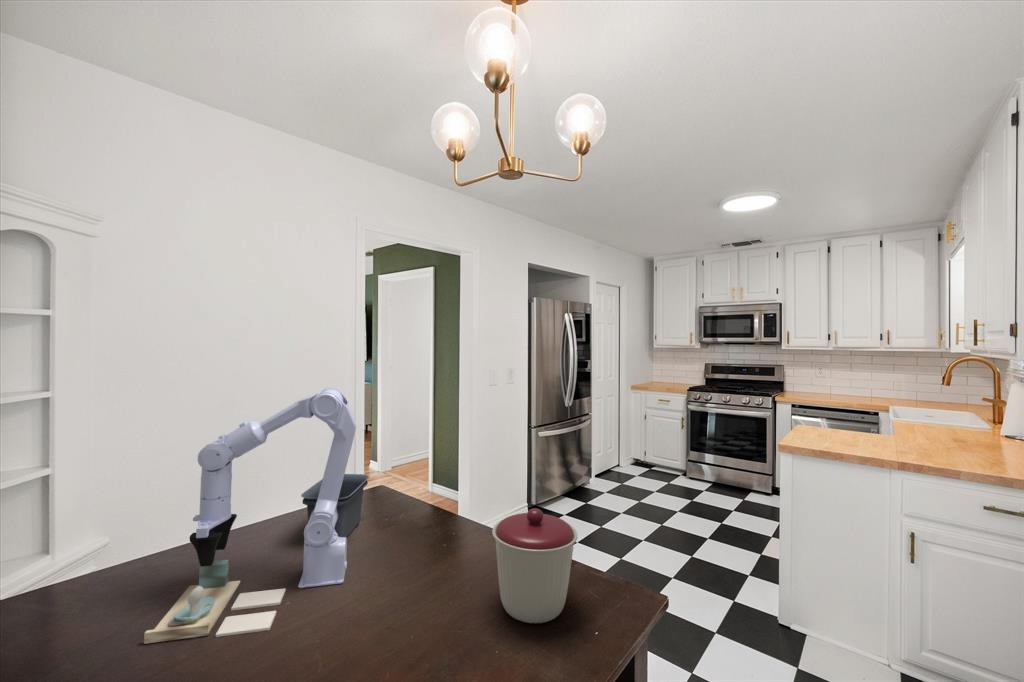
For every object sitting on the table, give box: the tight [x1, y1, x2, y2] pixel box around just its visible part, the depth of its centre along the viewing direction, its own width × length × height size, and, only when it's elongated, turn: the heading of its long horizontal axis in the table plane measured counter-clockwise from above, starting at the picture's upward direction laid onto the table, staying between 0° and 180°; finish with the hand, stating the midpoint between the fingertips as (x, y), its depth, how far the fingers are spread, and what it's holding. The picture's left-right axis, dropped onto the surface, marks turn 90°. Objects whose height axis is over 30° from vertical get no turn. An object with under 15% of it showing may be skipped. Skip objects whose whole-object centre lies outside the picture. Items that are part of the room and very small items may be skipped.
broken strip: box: [215, 588, 286, 638], centre depth 90 cm, size 9×14×1 cm, turn 16°
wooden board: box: [143, 559, 241, 644], centre depth 90 cm, size 10×19×5 cm, turn 16°
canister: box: [491, 508, 578, 624], centre depth 94 cm, size 18×18×21 cm
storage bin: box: [301, 473, 370, 539], centre depth 128 cm, size 21×16×14 cm
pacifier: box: [169, 586, 215, 626], centre depth 86 cm, size 7×6×6 cm
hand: (213, 557), depth 98 cm, fingers open, 7 cm apart
